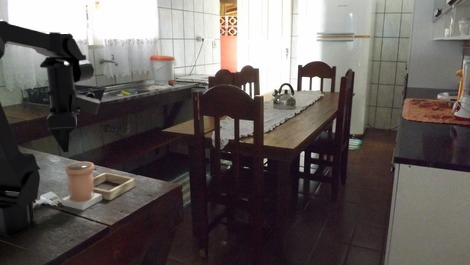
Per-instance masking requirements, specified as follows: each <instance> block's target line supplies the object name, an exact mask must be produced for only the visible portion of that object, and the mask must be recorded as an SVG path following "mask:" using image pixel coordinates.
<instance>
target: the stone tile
mask: <svg viewBox="0 0 470 265" xmlns="http://www.w3.org/2000/svg"><path fill="white" fill-rule="evenodd" d="M102 200H103V199H102V194H99V193H94V197H93V198H92V199H90V200H87V201H82V202H75V201H72V200H70V195H68V196H66V197H63V198H61V205H62V206H65V207H68V208H73V209H76V210H79V211H84V210H86V209H88V208H90V207H92V206H94V205H96V204H97V203H99V202H101V201H102Z"/></svg>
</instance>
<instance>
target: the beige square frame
mask: <svg viewBox="0 0 470 265" xmlns="http://www.w3.org/2000/svg"><path fill="white" fill-rule="evenodd" d="M136 181H137V180H136V178H134V177H130V176H126V175H120V174H115V173H109V172H103V173H101V174H99V175H97V176H93V183H94V193H99V194H102V200H107V201H111V200H114V199H116V198H117V197H118V196H120V195H122V194H124V193H126V192H127V191H130V190H131V189H133V188H135V187H136V186H137V184H136V183H137V182H136ZM105 182H110V183H115V184H119V185H118V186H115V187H113V188H112V189H110V190H107V189H102V188H98V187H97V186H99V185H101V184H103V183H105Z"/></svg>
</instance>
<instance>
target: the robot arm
mask: <svg viewBox="0 0 470 265" xmlns="http://www.w3.org/2000/svg"><path fill="white" fill-rule="evenodd" d="M6 44H7V45H8V44H9V45H12V46H13V45H14V46H18V47H23V48H29V49H32V50H35V52H36V53H37V54H39V55H42V56H44V57H45V59H44V60H43V61H42V62H41V63H40V64H39V67H40V68H42V69H46V76H47V83H48V84H47V85H48V90H47V96H49V103H50V105H49V106H50V107H49V113H50V114H49V115H48V116H47V117H46V119H45V124H46V128H47V129H48V131H49V132H50V133H51V135H52V136H53V138H54V139H55V141H56V142H57V144H58V145H59V147H60V149H61V151H62V152H63V153H68V152H69V150H70V142H71V140H72V134H73V133H72V132H73V131H74V130H75V129H76V128H77V125H78V120H77V118H79V115H80V111H83V112H86V113H89V114H90V115H97V113H98V110H99V107H100V104H101V100H99V99H98V98H96V96H95V93H94V92H87V93H86V94H85V95H84V94H79V93H78V92H77V88H76V87H75V84H76V83H80V82H85V81H88V80H91V79H92V78H93V77H94V74H95V68H94V65H93V64H92V62H90V60H88V59H87V55H86V54H83V53H82V51H81V49H80V47H79V45H78V43H77V41H76V40H75V38H74V35H72V33H70V32H63V31H62V32H60V31H59V32H57V31H56V32H54V31H41V30H37V29H34V28H30V27H27V26H21V25H19V24H15V23H11V22H8V21H6V20H3V19H0V60H1V59H2V58H3V57H4V55H5V52H6V51H5V50H6ZM40 169H41V168H40V166H39V165H38V164H37V160H36V156H35V154H34V153H26V152H22V150H20V147H19V146H18V143H17V140H16V138H15V135H14V132H13V130H12V128H11V125H10V122H9V120H8V118H7V115H6V112H5V110H4V108H3V105H2V102H1V101H0V235H1V236H5V237H7V238H11V239H13V238H16V237H17V236H19V235H21V234H23V233H25V232H27V231H29V230H31V229H32V228H35V227H36V226H38V225H39V222H38V221H36V220H35V215H34V214H35V213H34V212H35V211H34V204H33V202H35V201H36V200H37V199H38V196H39V188H40V182H41V180H40V179H41V176H40V172H39V171H40Z"/></svg>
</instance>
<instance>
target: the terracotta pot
mask: <svg viewBox="0 0 470 265" xmlns="http://www.w3.org/2000/svg"><path fill="white" fill-rule="evenodd" d="M64 169H65V171H64V172H65V173H66V174H67V183H68V184H67V185H68V194H69V195H68V196H70V200H72V201H75V202H82V201H87V200H90V199H92V198H93V197H94V187H95V186H94V183H93V178H94V173H93V171H94V170H95V164H94V163H93V162H90V161H75V162H72V163H69V164H67V165H65V166H64Z"/></svg>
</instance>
